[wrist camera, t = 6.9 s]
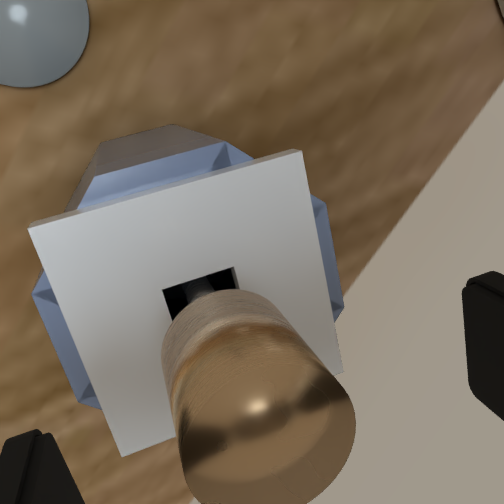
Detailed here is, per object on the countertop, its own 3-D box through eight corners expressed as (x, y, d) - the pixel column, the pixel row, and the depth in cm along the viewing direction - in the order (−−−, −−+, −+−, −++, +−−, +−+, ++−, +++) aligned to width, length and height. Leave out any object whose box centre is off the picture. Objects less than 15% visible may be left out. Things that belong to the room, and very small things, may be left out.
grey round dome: (60, -81, 23) (59, -85, 23) (107, 70, 26) (107, 69, 25) (-94, -55, 22) (-99, -59, 22) (-29, 101, 24) (-33, 101, 24)
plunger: (215, 148, 25) (408, 230, 9) (246, 270, 28) (441, 504, 11) (80, 185, 24) (24, 358, 8) (125, 309, 26) (152, 637, 10)
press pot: (221, 111, 28) (320, 118, 15) (267, 304, 32) (375, 439, 19) (46, 156, 26) (-14, 209, 13) (121, 354, 31) (131, 541, 18)
